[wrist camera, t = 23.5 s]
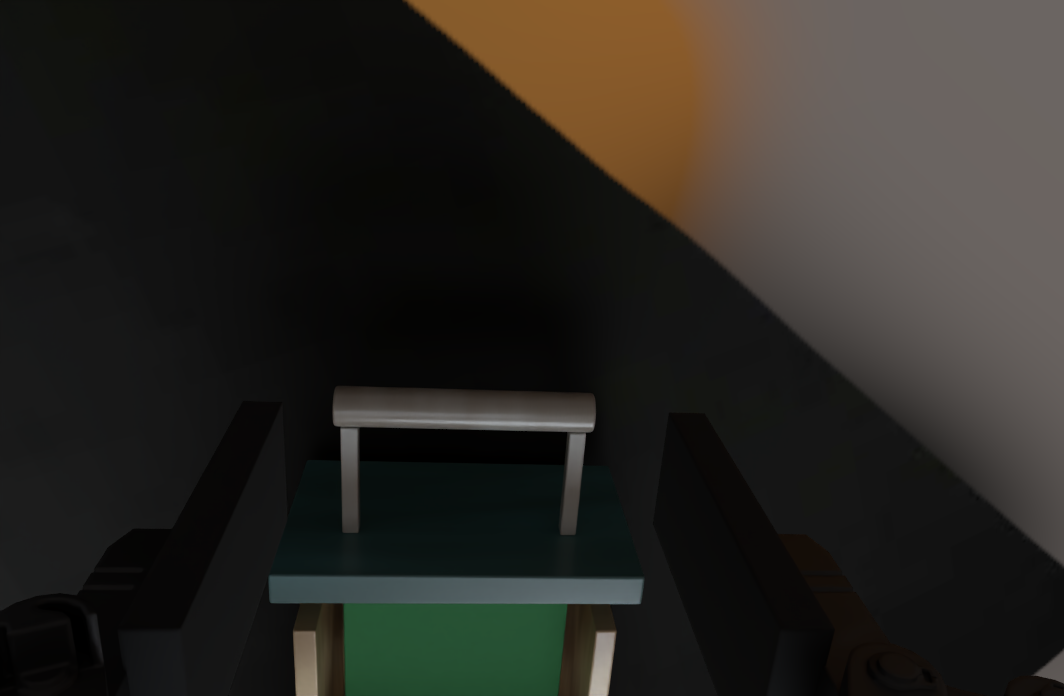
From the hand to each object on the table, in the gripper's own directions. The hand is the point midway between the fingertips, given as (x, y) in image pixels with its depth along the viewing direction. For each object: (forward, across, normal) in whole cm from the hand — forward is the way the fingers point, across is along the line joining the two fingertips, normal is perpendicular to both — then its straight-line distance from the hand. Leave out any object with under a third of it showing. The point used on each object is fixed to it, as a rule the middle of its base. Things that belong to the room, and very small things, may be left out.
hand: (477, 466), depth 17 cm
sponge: (+15, 0, +15) cm, 21 cm away
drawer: (+16, 0, +13) cm, 21 cm away
